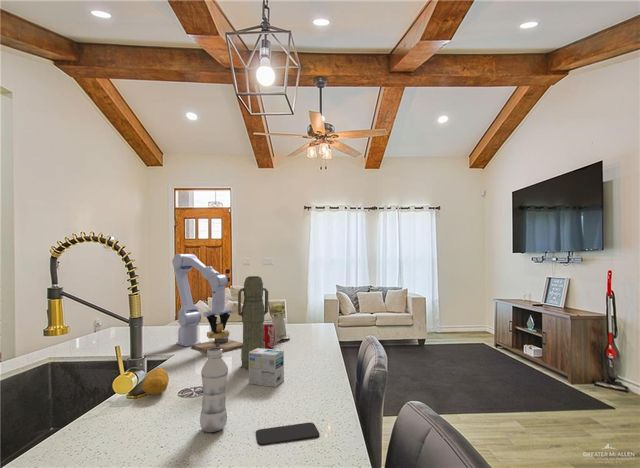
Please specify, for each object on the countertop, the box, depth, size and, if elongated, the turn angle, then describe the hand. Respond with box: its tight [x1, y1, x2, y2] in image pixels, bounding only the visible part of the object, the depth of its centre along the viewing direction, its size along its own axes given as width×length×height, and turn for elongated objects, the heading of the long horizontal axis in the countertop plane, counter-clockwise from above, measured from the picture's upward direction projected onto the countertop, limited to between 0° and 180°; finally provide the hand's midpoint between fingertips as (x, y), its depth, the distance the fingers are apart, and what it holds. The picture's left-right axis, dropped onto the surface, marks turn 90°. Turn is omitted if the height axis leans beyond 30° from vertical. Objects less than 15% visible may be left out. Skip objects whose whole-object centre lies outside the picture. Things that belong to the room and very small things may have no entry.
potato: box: [141, 367, 170, 396], centre depth 117 cm, size 8×14×7 cm, turn 23°
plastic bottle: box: [199, 348, 229, 433], centre depth 93 cm, size 6×7×20 cm
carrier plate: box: [191, 337, 243, 354], centre depth 172 cm, size 18×18×4 cm
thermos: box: [237, 275, 269, 370], centre depth 145 cm, size 9×12×35 cm
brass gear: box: [206, 321, 231, 340], centre depth 169 cm, size 10×10×6 cm
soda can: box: [263, 321, 276, 350], centre depth 169 cm, size 7×7×12 cm
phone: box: [255, 421, 321, 446], centre depth 90 cm, size 7×1×15 cm
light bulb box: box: [247, 348, 285, 388], centre depth 126 cm, size 11×7×11 cm, turn 71°
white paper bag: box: [268, 302, 291, 344], centre depth 187 cm, size 12×13×18 cm
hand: (218, 330), depth 169 cm, fingers closed on brass gear, 4 cm apart
